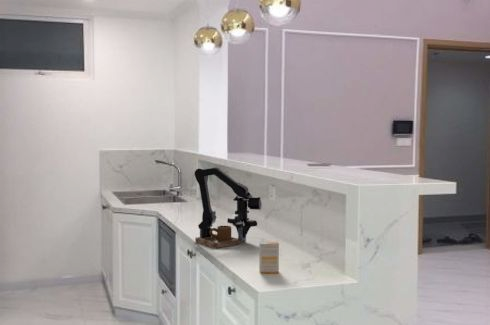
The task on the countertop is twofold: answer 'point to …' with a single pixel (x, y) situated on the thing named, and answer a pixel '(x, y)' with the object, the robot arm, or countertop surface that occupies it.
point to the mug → (221, 233)
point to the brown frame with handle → (224, 243)
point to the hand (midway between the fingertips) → (242, 237)
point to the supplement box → (269, 257)
